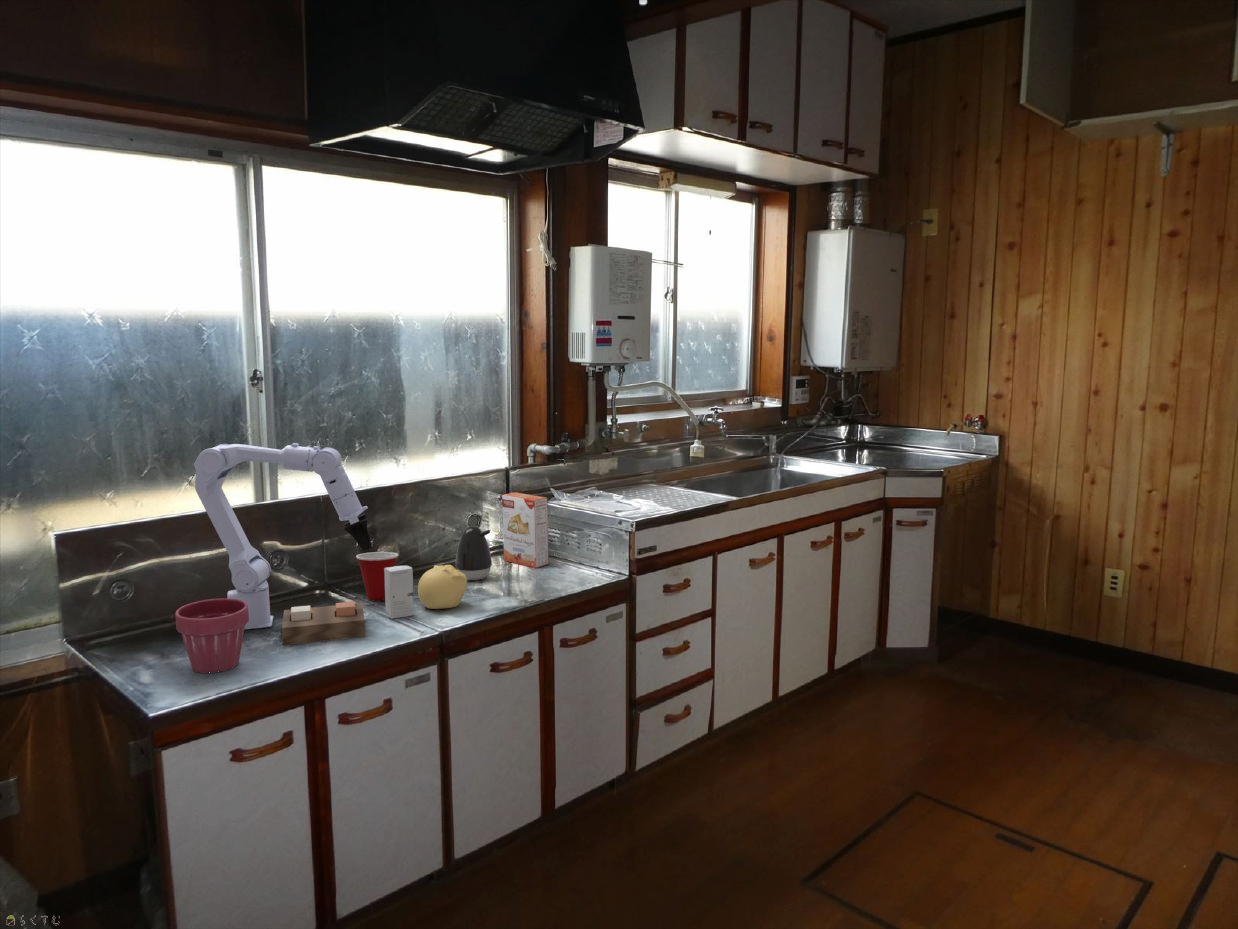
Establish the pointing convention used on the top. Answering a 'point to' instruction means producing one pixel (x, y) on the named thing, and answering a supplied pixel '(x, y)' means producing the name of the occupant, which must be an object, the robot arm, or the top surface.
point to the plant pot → (213, 632)
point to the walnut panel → (323, 626)
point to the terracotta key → (345, 609)
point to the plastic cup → (375, 572)
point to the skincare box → (399, 591)
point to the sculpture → (442, 587)
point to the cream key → (300, 613)
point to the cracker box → (525, 529)
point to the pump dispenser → (473, 554)
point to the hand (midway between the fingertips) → (367, 547)
